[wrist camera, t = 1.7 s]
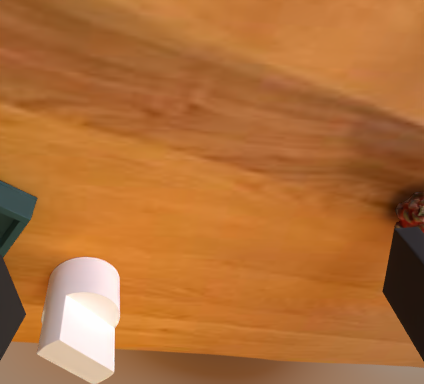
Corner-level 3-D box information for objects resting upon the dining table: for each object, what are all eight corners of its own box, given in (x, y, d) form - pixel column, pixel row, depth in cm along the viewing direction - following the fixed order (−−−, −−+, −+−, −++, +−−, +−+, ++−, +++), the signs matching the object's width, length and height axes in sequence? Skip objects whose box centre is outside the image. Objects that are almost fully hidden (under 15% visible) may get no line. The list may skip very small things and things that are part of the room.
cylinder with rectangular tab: (33, 281, 49) (12, 366, 39) (88, 245, 47) (80, 324, 37) (82, 314, 54) (74, 397, 44) (133, 282, 52) (137, 360, 42)
